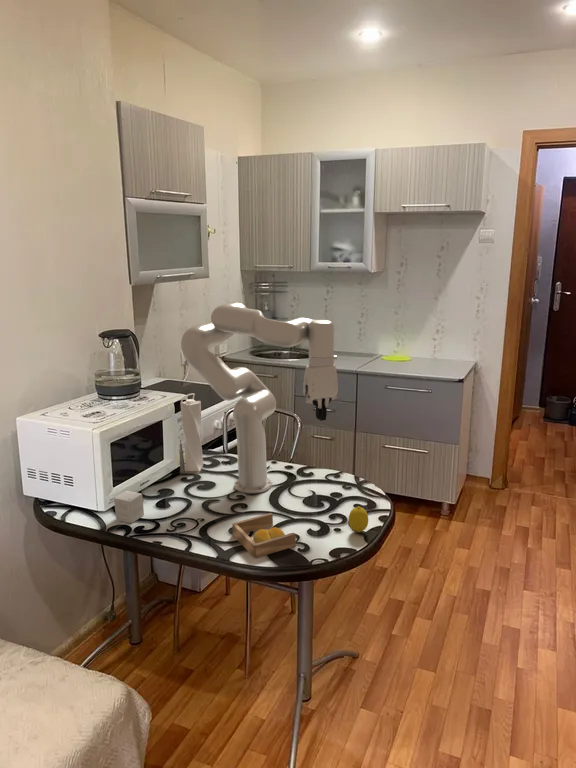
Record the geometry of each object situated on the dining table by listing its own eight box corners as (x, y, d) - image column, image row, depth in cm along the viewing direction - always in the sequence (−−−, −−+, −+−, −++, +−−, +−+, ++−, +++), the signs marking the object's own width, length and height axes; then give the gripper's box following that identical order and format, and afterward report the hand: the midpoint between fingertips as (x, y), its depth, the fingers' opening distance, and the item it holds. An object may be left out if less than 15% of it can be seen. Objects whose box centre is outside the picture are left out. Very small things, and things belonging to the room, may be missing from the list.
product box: (144, 515, 181) (142, 493, 179) (131, 524, 175) (129, 501, 174) (128, 511, 183) (126, 490, 182) (115, 520, 178) (113, 498, 176)
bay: (232, 534, 168) (231, 523, 167) (271, 523, 174) (271, 512, 173) (254, 558, 156) (254, 546, 155) (295, 545, 162) (295, 533, 161)
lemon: (366, 527, 171) (366, 502, 169) (369, 537, 166) (370, 511, 164) (347, 528, 171) (347, 502, 169) (350, 537, 165) (350, 511, 163)
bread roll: (251, 537, 167) (251, 524, 166) (282, 534, 168) (282, 521, 167) (255, 552, 159) (254, 539, 158) (287, 549, 160) (287, 535, 159)
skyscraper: (185, 464, 220) (181, 392, 213) (207, 465, 219) (203, 392, 212) (179, 473, 212) (174, 399, 205) (201, 474, 211) (197, 399, 204)
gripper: (335, 356, 185) (335, 412, 189) (293, 361, 178) (294, 419, 183) (348, 360, 178) (348, 418, 183) (305, 366, 171) (306, 426, 176)
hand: (321, 419), depth 183 cm, fingers closed
